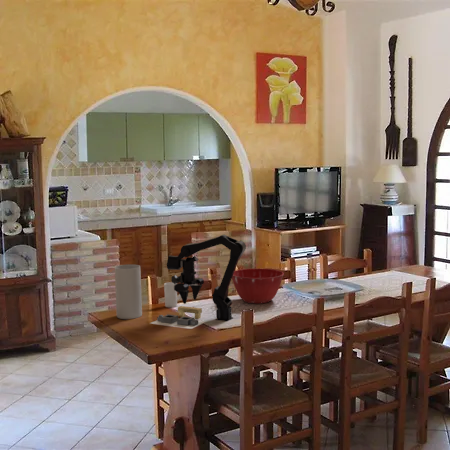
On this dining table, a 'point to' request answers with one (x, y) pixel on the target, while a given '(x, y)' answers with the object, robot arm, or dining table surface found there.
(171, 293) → the mug
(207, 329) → the dining table surface
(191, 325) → the mat
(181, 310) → the master link
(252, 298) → the mixing bowl
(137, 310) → the cylinder vase
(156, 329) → the dining table surface
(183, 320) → the chain ends
